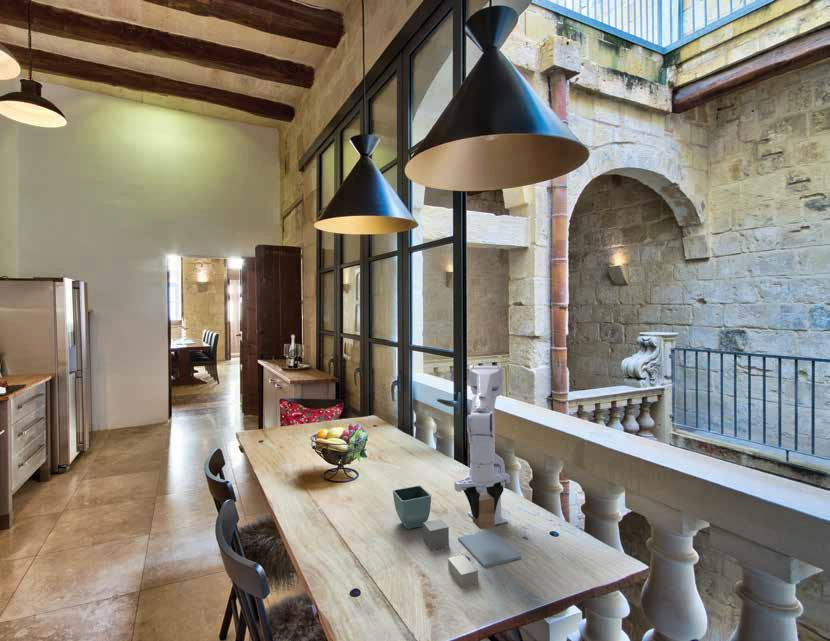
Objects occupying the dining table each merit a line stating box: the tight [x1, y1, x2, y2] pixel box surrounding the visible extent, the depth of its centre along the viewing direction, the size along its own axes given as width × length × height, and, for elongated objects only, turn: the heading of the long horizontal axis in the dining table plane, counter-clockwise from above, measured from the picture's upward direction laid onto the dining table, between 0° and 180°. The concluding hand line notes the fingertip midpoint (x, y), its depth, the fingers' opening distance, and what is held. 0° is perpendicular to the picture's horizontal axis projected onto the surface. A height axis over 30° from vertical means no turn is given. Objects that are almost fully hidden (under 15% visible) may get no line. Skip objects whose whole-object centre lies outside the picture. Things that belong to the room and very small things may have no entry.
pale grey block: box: [447, 554, 479, 588], centre depth 100 cm, size 7×4×3 cm, turn 20°
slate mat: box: [457, 529, 522, 568], centre depth 112 cm, size 14×10×1 cm
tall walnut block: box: [472, 492, 496, 530], centre depth 111 cm, size 4×4×7 cm
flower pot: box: [392, 485, 432, 530], centre depth 126 cm, size 9×9×9 cm
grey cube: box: [422, 518, 450, 551], centre depth 115 cm, size 5×5×5 cm
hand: (483, 514), depth 111 cm, fingers closed on tall walnut block, 4 cm apart
